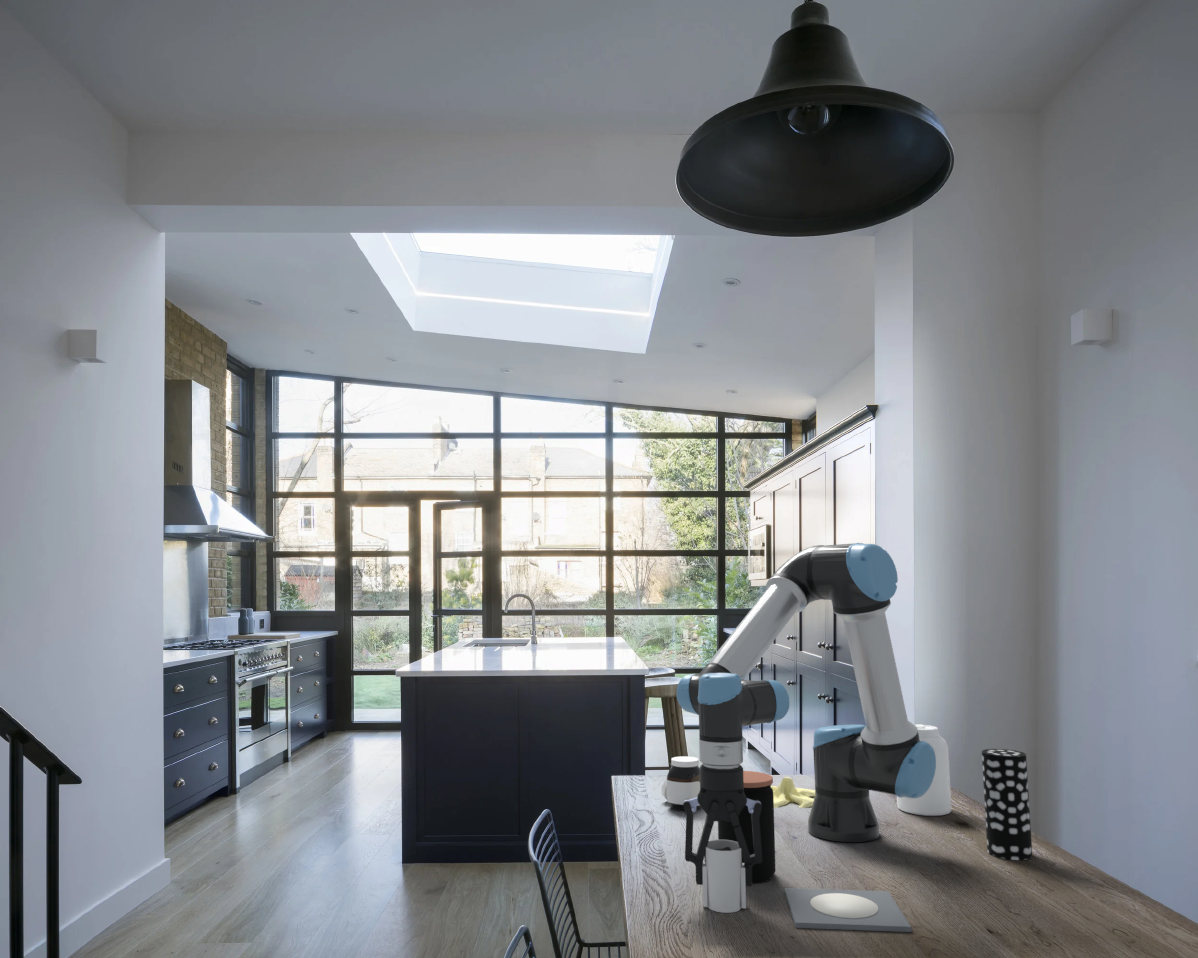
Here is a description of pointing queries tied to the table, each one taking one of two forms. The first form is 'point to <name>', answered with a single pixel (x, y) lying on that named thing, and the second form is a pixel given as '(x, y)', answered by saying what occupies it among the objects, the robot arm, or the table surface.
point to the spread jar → (682, 781)
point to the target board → (845, 910)
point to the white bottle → (939, 791)
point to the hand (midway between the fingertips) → (724, 904)
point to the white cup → (723, 875)
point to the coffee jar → (760, 789)
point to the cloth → (792, 794)
